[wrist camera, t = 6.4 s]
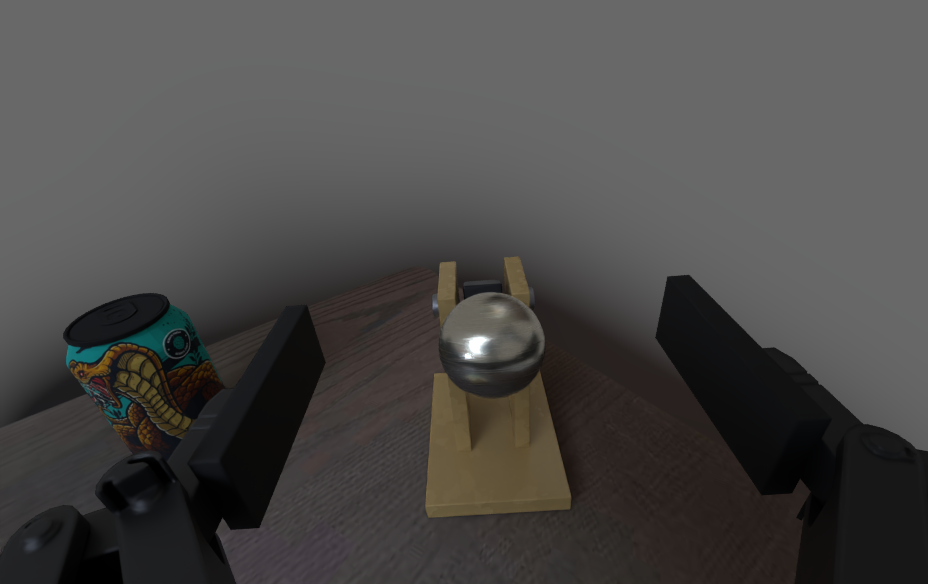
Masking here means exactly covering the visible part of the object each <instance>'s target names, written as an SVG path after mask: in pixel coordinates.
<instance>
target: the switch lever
mask: <svg viewBox="0 0 928 584" xmlns="http://www.w3.org/2000/svg"><path fill="white" fill-rule="evenodd" d="M463 293H464V300H463V301H462V302H460V303H459V304H458V305H456V306H455V307H454V308H453V309H452V310H451V312H450V313H449V314H448V316H447V317H446V319H445V321H444V323H443V325H442V328H441V331H440V335H439V356H440V360H441V363H442V366H443V368H444V370H445V372H446V374H447V375H448V377H449V378H450V379H451V381H452V382H453V383H454V384H455V385H456V386H457V387H458V388H460V389H461V390H463V391H464V392H466V393H467V394H470V395H472V396H474V397H477V398H482V399H488V400H496V399H503V398H507V397H510V396H513V395H515V394H517V393H519V392H520V391H522V390H523V389H525V388H526V387H527V386H528V385H529V384H530V383H531V382H532V381H533V380H534V379H535V377H536V376H537V374H538V372H539V370H540V368H541V366H542V363H543V360H544V354H545V338H544V334H543V329H542V327H541V325H540V322H539V321H538V319H537V317H536V315H535V314H534V313H533V312H532V310H531V309H530V308H529V307H528V306H527V305H525V304H524V303H523V302H521V301H520V300H518V299H516V298H514V297H512V296H510V295H507V294H503V293H502V284H501V283H500V281H499V280H484V281H471V282H464V286H463Z"/></svg>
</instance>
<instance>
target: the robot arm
mask: <svg viewBox="0 0 928 584" xmlns="http://www.w3.org/2000/svg"><path fill="white" fill-rule="evenodd" d="M655 338H656V339H657V340H658V342H659V344H660V345H661V347H662V348H663V350H664V351H665V353H666V354H667V356H668V357H669V358H670V360H671V361H672V363H673V364H674V366H675V367H676V369H677V370H678V372H679V373H680V375H681V376H682V378H683V379H684V381H685V382H686V384H687V385H688V387H689V388H690V390H691V391H692V393H693V394H694V396H695V397H696V399H697V400H698V402H699V403H700V404H701V406H702V408H703V409H704V410H705V412H706V413H707V415H708V416H709V418H710V419H711V421H712V422H713V424H714V425H715V427H716V428H717V430H718V431H719V433H720V434H721V436H722V437H723V439H724V440H725V442H726V443H727V444H728V446H729V448H730V449H731V451H732V452H733V453H734V455H735V456H736V458H737V459H738V461H739V462H740V464H741V465H742V467H743V468H744V470H745V471H746V473H747V474H748V476H749V477H750V479H751V480H752V482H753V483H754V485H755V486H756V488H757V489H758V491H759V492H760V494H761V495H774V494H789V493H792V492H793V490H794V489H795V487H796V485H797V483H798V481H799V479H801V480H802V481H803V482H804V484H805V485H806V486H807V487H808V488H809V490H810V491H811V493H810V494H809V496H808V498H807V499H806V501H805V503H804V505H803V506H802V508H801V510H800V512H799V513H798V515H797V517H796V518H798V519H800V520H802V519H803V517H804V520H803V527H802V534H801V541H800V548H799V555H798V563H797V570H796V577H795V584H928V451H923V450H917V449H915V447H914V446H913V445H912V444H911V443H909V442H908V441H906V440H905V439H903V438H902V437H900V436H899V435H897V434H895V433H893V432H890V431H888V430H886V429H884V428H880V427H876V426H872V425H868V424H863V423H861V422H860V421H859V420H858V419H857V418H856V417H855V416H854V415H853V414H852V413H851V412H850V411H849V410H848V409H846V408H845V407H844V406H843V405H842V404H841V403H840V402H839V401H838V400H837V399H836V398H835V397H834V396H833V395H832V394H831V393H830V392H828V391H827V390H826V389H825V388H824V387H823V386H822V385H819V384H818V381H817V380H816V379H815V378H814V377H813V376H812V375H810V374H807V371H806V370H805V369H804V368H803V367H802V366H801V365H800V364H799V363H798V362H797V361H796V360H795V359H793V358H792V357H790V356H788V355H787V354H785V353H783V352H781V351H779V350H778V349H776V348H761V347H760V346H759V345H758V344H757V343H756V342H755V341H754V340H753V339H752V338H751V337H750V336H749V335H748V334H747V333H746V332H745V331H744V330H743V328H742V327H741V326H739V324H737V322H735V321H734V320H733V319H732V318H731V316H730V315H728V313H727V312H725V311H724V310H723V308H722V307H721V306H720V305H718V304H717V303H716V301H715V300H714V299H713V298H711V296H709V294H708V293H707V292H706V291H705V290H703V288H702V287H701V286H700V285H699V284H698V283H697V282H696V281H695V280H694V279H692V277H690V275H681V276H669V277H667V282H666V287H665V292H664V297H663V302H662V307H661V313H660V317H659V322H658V328H657V332H656V337H655ZM325 363H326V362H325V359H324V356H323V353H322V350H321V347H320V344H319V341H318V338H317V335H316V332H315V328H314V325H313V322H312V319H311V316H310V313H309V310H308V307H307V305H300V306H299V305H298V306H286V308H285V309H284V311H283V312H282V314H281V316H280V317H279V319H278V320H277V322H276V323H275V325H274V326H273V328H272V330H271V331H270V333H269V334H268V336H267V338H266V339H265V341H264V342H263V344H262V345H261V347H260V349H259V350H258V352H257V353H256V355H255V357H254V358H253V360H252V361H251V363H250V364H249V366H248V368H247V369H246V371H245V372H244V374H243V375H242V377H241V379H240V380H239V382H238V383H237V385H236V387H235V388H231V389H222V390H221V391H220V392H219V393H217V394H216V395H215V396H214V397H213V398H212V399H210V400H209V401H208V402H207V403H206V405H205V406H204V408H203V409H202V411H201V412H200V414H199V415H198V419H195V421H194V422H193V424H192V425H191V427H190V431H187V433H186V434H185V436H184V437H183V438H182V440H181V441H180V443H179V444H178V446H177V447H176V449H175V450H174V452H173V453H172V455H171V456H170V458H169V459H168V460H167V462H166V461H165V459H164V458H163V456H162V455H161V454H160V453H159V452H156V451H151V450H150V451H143V452H138V453H136V454H134V455H131V456H129V457H126V458H125V459H123V460H122V461H120V462H118V463H117V464H115V465H114V466H113V467H112V468H110V469H109V470H108V471H107V472H106V473H105V474H104V475H103V476H102V478H101V479H100V481H99V482H98V484H97V485H96V490H95V495H96V496H97V497H98V498H99V499H100V501H101V502H102V503H103V504H104V505H105V506H106V508H103V509H100V510H97V511H94V512H91V513H88V514H85V515H81V514H80V512H79V511H78V510H77V509H75V508H74V507H73V506H69V505H62V506H58V507H54V508H51V509H49V510H47V511H45V512H43V513H41V514H39V515H37V516H35V517H34V518H32V519H31V520H29V521H28V522H27V523H25V524H24V525H23V526H21V527H20V528H19V529H18V530H17V531H16V532H15V533H14V534H13V535H12V536H11V538H10V539H9V541H8V542H7V544H6V545H5V547H4V548H3V551H2V553H1V555H0V584H236V582H235V579H234V576H233V574H232V571H231V568H230V565H229V563H228V560H227V557H226V554H225V552H224V549H223V546H222V543H221V540H220V538H219V536H218V535H217V534H216V530H217V528H218V526H219V524H220V522H221V519H222V517H223V519H224V520H225V522H226V523H227V525H228V526H229V528H230V529H231V530H235V529H250V528H259V527H260V525H261V522H262V520H263V517H264V515H265V512H266V510H267V507H268V505H269V502H270V500H271V497H272V495H273V492H274V490H275V487H276V485H277V482H278V480H279V477H280V475H281V472H282V470H283V467H284V465H285V462H286V460H287V457H288V455H289V452H290V450H291V447H292V445H293V442H294V440H295V437H296V435H297V432H298V430H299V427H300V425H301V423H302V420H303V418H304V415H305V413H306V410H307V408H308V405H309V403H310V400H311V398H312V395H313V393H314V390H315V388H316V385H317V383H318V380H319V378H320V375H321V373H322V370H323V368H324V365H325Z"/></svg>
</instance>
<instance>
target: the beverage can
mask: <svg viewBox="0 0 928 584" xmlns="http://www.w3.org/2000/svg"><path fill="white" fill-rule="evenodd" d="M63 338H64V340H65V341H66V342H67V343H68V345H69V347H68V351H67V357H66V363H67V367H68V368H69V369H70V371H71V372H72V373H73V375H74V376H75V377H76V379H77V380H78V381H79V383H80V384H81V385H82V387H83V388H84V389H85V391H86V392H87V393H88V395H89V396H90V397H91V399H92V400H93V401H94V403H95V404H96V405H97V407H98V408H99V409H100V411H101V412H102V413H103V415H104V416H105V417H106V419H107V420H108V421H109V423H110V424H111V425H112V427H113V428H114V429H115V431H116V432H117V433H118V435H119V436H120V437H121V439H122V440H123V441H124V443H125V444H126V445H127V447H128V448H129V449H130V451H131V452H132V453H133V455H134V454H136V453H138V452H143V451H150V450H151V451H156V452H159V453H160V454H161V455H162V456H163V458H164V459H165V461H166V462H167V460H168V459H169V458H170V456H171V455H172V453H173V452H174V450H175V449H176V447H177V446H178V444H179V443H180V441H181V440H182V438H183V437H184V436H185V434H186V433H187V431H190V427H191V425H192V424H193V422H194V421H195V419H198V415H199V414H200V412H201V411H202V409H203V408H204V406H205V405H206V403H207V402H208V401H209V400H210V399H212V398H213V397H214V396H215V395H216V394H217V393H219V392H220V391H221V390H222V389H226V388H225V386H224V384H223V382H222V380H221V378H220V376H219V374H218V372H217V370H216V368H215V367H214V365H213V363H212V361H211V359H210V357H209V355H208V353H207V351H206V349H205V347H204V345H203V343H202V341H201V339H200V337H199V335H198V334H197V331H196V330H195V328H194V326H193V324H192V322H191V320H190V318H189V316H188V314H186V313H185V312H184V311H182V310H181V309H178V308H177V307H175V306H172V305H170V303H169V301H168V299H167V297H165V296H164V295H161V294H156V293H155V294H154V293H146V294H138V295H132V296H127V297H123V298H120V299H117V300H114V301H111V302H109V303H105V304H103V305H101V306H99V307H96V308H94V309H92V310H90V311H88V312H86V313H85V314H83V315H81V316H80V317H78V318H77V319H76V320H75V321H73V322H72V323H71V324H70V325H69V326H68V327H67V328H66V330H65V331H64V333H63Z"/></svg>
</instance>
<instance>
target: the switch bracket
mask: <svg viewBox="0 0 928 584" xmlns="http://www.w3.org/2000/svg"><path fill="white" fill-rule="evenodd" d="M439 271H440V272H439V283H438V294H433V296H432V306H433V314H434V317H440V325H441V328H442V325H443V323H444V321H445V319H446V317H447V316H448V314H449V313H450V312H451V310H452V309H453V308H454V307H455V306H456V305H458V304H459V303H460V299H459V289H458V279H457V270H456V262H443V263H440V270H439ZM504 280H505V294H507V295H510V296H512V297H514V298H516V299H518V300H520V301H521V302H523V303H524V304H525V305H527V306H528V307H529V308H530V309H531V310H534V308H535V300H534V291H533V288H532V287H528V284H527V281H526V278H525V274H524V270H523V267H522V263H521V260H520V257H508V258H504ZM571 498H572V497H571V493H570V489H569V485H568V481H567V477H566V473H565V469H564V465H563V461H562V457H561V453H560V449H559V445H558V441H557V437H556V433H555V429H554V425H553V421H552V417H551V413H550V409H549V405H548V401H547V397H546V393H545V389H544V385H543V381H542V377H541V373H540V370H539V372H538V374H537V376H536V377H535V379H534V380H533V381H532V382H531V383H530V384H529V385H528V386H527V387H526V388H525V389H523V390H522V391H520V392H519V393H517V394H515V395H513V396H510V397H507V398H503V399H496V400H488V399H482V398H477V397H474V396H472V395H470V394H467V393H466V392H464V391H463V390H461V389H460V388H458V387H457V386H456V385H455V384H454V383H453V382H452V381H451V379H450V378H449V377H448V375H447V374H446V373H435V374H434V385H433V399H432V414H431V429H430V444H429V458H428V473H427V488H426V503H425V507H426V512H427V516H428V518H434V517H451V516H467V515H484V514H501V513H517V512H534V511H551V510H567V509H570V508H571Z"/></svg>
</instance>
